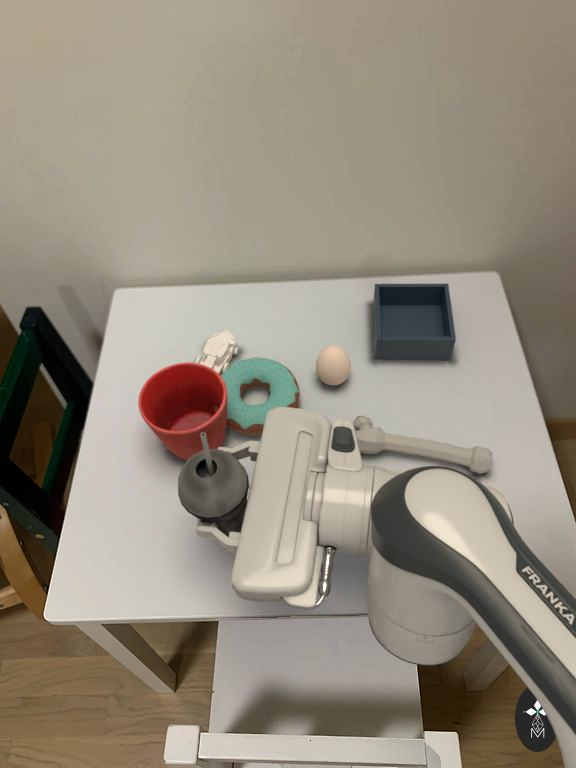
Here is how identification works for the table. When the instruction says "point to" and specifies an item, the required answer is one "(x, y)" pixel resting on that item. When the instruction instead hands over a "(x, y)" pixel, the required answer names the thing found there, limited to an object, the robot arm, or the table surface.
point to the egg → (333, 365)
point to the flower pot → (185, 407)
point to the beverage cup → (214, 488)
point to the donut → (257, 374)
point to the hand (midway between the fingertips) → (207, 489)
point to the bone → (419, 447)
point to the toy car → (218, 352)
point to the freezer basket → (413, 322)
